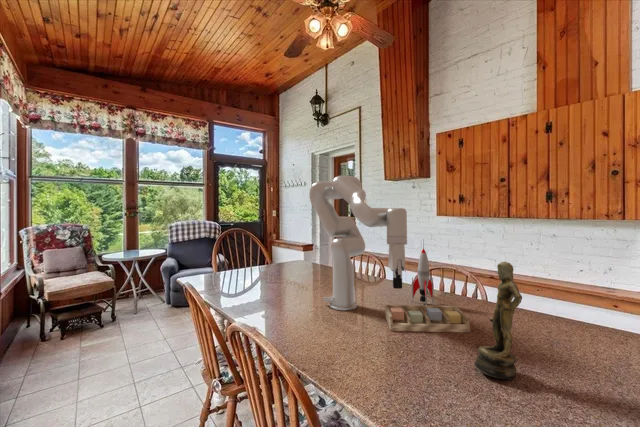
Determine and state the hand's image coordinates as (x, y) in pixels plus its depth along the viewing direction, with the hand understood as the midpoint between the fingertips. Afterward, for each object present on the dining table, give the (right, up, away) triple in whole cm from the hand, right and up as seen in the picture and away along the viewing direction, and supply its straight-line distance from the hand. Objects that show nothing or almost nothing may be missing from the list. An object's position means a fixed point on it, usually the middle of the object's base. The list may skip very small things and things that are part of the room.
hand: (397, 287), depth 118 cm
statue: (+18, -15, -36) cm, 43 cm away
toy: (+18, -14, +23) cm, 32 cm away
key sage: (+7, -13, 0) cm, 14 cm away
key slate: (+14, -11, -1) cm, 18 cm away
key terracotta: (0, -11, +1) cm, 11 cm away
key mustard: (+21, -12, -1) cm, 24 cm away
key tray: (+10, -14, 0) cm, 17 cm away
